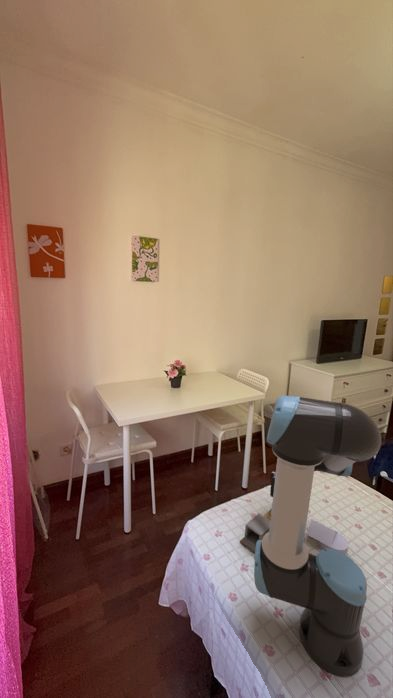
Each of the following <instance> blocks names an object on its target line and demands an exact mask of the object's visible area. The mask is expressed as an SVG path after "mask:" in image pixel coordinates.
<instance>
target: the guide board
mask: <svg viewBox="0 0 393 698" xmlns="http://www.w3.org/2000/svg"><path fill="white" fill-rule="evenodd" d="M244 528H245V529H244V537H242V538H241V539H240V540H239V544H240V545H242V546H244V547H245V548H246V549H248V550H249V551H251V552H252V553H253V554H254V555H255V549H256V543H257V541H258V540H262V539H263V537H264V535H265V534H266V533H268V532H269V528H270V520H268V519H267V518H265V517H264V515H262V514H260V513H257V514H255V516H254V517H253V518H251V519H250V520H249V521H248V522H247V523H246V524H245V527H244Z"/></svg>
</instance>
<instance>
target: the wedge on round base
mask: <svg viewBox="0 0 393 698" xmlns="http://www.w3.org/2000/svg"><path fill="white" fill-rule="evenodd" d="M306 530H307V531H306V532H305V535H307V536H309V537H310V538H312V539H314V540H316V541H318V542H319V547H320V548H321V550H325V549H334V550H337V551H340V552H342V553H344V554H345V555H347V556H348V549H349V545H350V544H349V542H348V539H347V538H346V536H344V535H343V534H342V533H340V532H339V531H337V530H335V529H333V528H331V527H329V526H326V525H325V524H323V523H321V522H319V521H317V520H315V519H312V518H311V520H310V522H309V525H308V528H307V529H306Z"/></svg>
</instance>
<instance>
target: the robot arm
mask: <svg viewBox="0 0 393 698" xmlns="http://www.w3.org/2000/svg"><path fill="white" fill-rule="evenodd" d="M267 431H268V432H267V437H266V442H267V443H269V444H270V445H272V446H271V449H272V453H273V455H274V456H275V457H277V459H276V467H275V468H276V469H275V470H274V471H272V472H271V473H270V474H269V475H270V489H269V490H270V493H269V494H270V497H271V498H272V503H271V509H272V511H271V519H270V528H269V532H268V533H266V534H265V535H264V537H263V539H262V540H258V541H257V543H256V549H255V554H254V567H253V572H254V573H253V574H254V575H253V576H254V577H253V579H254V586H255V589H256V590H257V592H259V593H260V594H262V595H265V596H267V597H268V598H271V599H276V600H278V601H279V600H280V601H282V602H285V603H287V604H291V605H295V606H297V607H301V608H304V610H303V611H302V614H301V616H300V618H299V619H300V621H299V625H298V627H299V629H298V632H299V638H300V641H301V644H302V646H303V647H304V650H305V651H306V653H307V655H308V656H309V657H310V658H311V660H312V661H313V662H315V664H316V665H317V666H318V667H320V668H321V669H322V670H324V671H326V672H328V673H329V674H331V675H334V676H338V677H349V676H352V675H354V674H356V673H357V672H359V670H360V668H361V666H362V662H363V658H364V643H363V638H362V635H361V630H360V628H361V622H362V619H363V618H362V617H363V612H364V609H365V604H366V602H367V597H368V596H367V590H368V583H367V579H366V577H365V576H366V575H365V574H364V572H363V570H362V569H361V568H360V566H359V564H357V563H356V562H354V560H353V558H351V557H349V555H348V554H347V555H345V554H344V553H342V552H340V551H337V550H334V549H325V550H322V549H321V550H320V551H319V552H318V553H317V554H311V553H310V552H309V551H308V548H307V545H306V544H305V537H306V530H307V521H308V516H309V508H310V501H311V495H312V487H313V480H314V473H315V472H321V473H325V474H331V475H335V476H337V477H346V478H348V477H350V476H351V475H352V472H353V466H354V463H357V462H365V461H368V460H370V459H372V458H373V457H375V456H376V455H377V453H379V451H380V449H381V446H382V434H381V431H380V429H379V426H378V425H377V424H376V422H375V421H374V420H373V418H372V417H371V416H370V415H369V414H367V413H366V412H364V411H363V410H362V409H361V408H359V407H356V406H354V405H352V404H349V403H344V402H336V401H335V402H334V401H329V400H323V399H316V398H308V397H302V396H300V395H296V396H292V395H280V396H278V397H277V399H276V400H275V403H274V407H273V412H272V413H271V418H270V424H269V427H268V430H267Z"/></svg>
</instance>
